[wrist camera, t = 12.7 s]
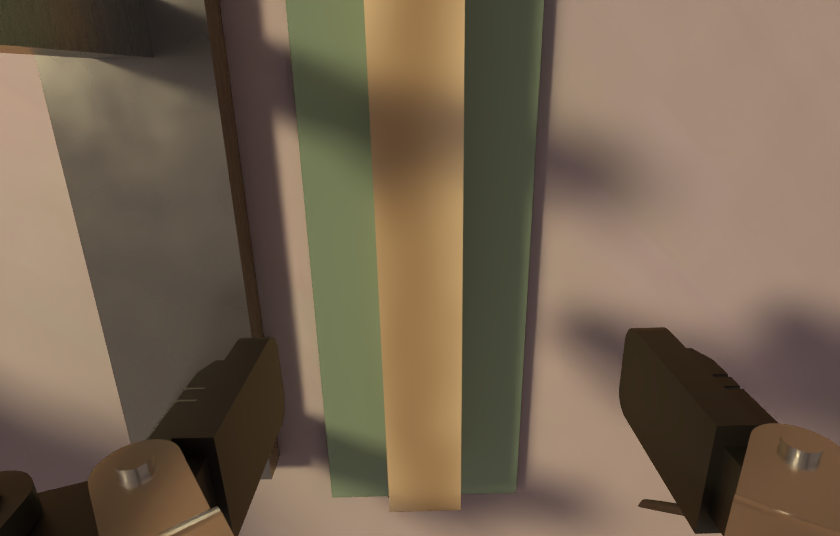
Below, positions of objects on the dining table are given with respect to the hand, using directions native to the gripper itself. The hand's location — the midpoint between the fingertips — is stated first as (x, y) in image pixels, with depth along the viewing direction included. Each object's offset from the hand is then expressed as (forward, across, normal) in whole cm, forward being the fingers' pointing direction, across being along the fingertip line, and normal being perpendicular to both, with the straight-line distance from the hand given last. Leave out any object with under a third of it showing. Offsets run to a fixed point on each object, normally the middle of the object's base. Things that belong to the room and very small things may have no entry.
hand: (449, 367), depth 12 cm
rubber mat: (+10, +1, 0) cm, 10 cm away
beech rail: (+10, +1, 0) cm, 10 cm away
